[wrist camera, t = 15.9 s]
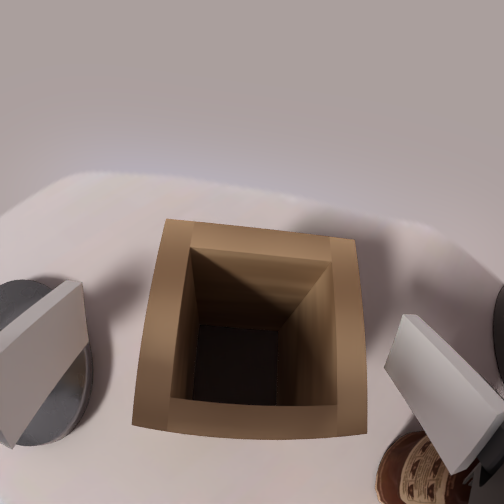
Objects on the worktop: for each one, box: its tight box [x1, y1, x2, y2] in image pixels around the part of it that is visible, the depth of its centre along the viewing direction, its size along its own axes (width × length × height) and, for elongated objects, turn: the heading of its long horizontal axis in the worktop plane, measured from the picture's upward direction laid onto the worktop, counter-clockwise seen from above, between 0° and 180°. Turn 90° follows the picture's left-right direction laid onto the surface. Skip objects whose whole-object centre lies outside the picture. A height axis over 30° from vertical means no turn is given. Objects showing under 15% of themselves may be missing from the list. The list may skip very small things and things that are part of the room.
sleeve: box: [132, 219, 367, 440], centre depth 14 cm, size 7×7×10 cm
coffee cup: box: [375, 431, 480, 504], centre depth 9 cm, size 9×8×13 cm
